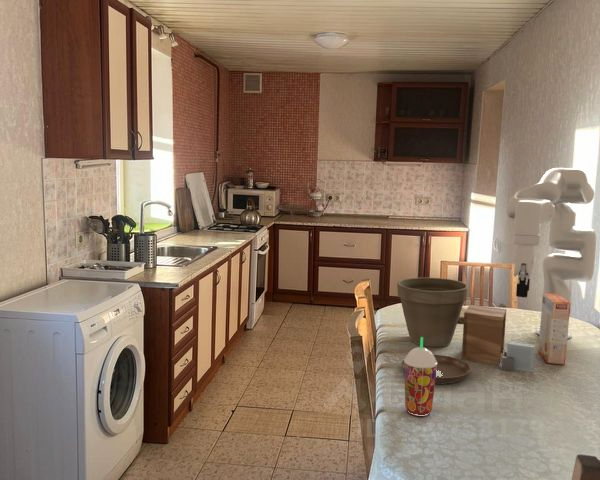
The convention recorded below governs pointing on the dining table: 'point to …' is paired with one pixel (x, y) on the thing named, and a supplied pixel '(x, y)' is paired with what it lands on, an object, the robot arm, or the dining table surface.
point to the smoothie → (419, 380)
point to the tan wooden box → (483, 334)
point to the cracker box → (554, 328)
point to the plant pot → (432, 308)
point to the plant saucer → (449, 369)
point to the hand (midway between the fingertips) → (522, 293)
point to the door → (521, 355)
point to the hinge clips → (507, 363)
